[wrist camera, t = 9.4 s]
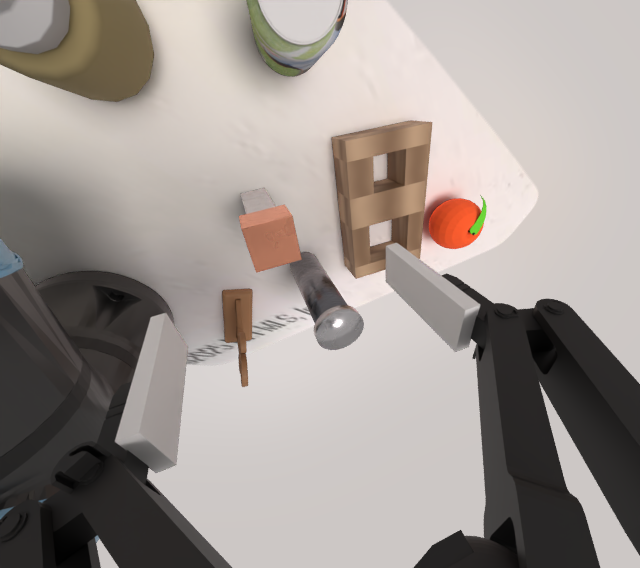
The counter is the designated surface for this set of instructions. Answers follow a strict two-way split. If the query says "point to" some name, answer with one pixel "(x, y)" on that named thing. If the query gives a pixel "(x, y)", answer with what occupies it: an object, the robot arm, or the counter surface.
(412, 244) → the mount block
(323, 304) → the grey capped cylinder
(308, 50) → the beverage can
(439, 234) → the clementine
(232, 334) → the wooden figurine
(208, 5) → the counter surface
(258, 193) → the pin
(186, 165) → the counter surface
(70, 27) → the squeeze bottle
